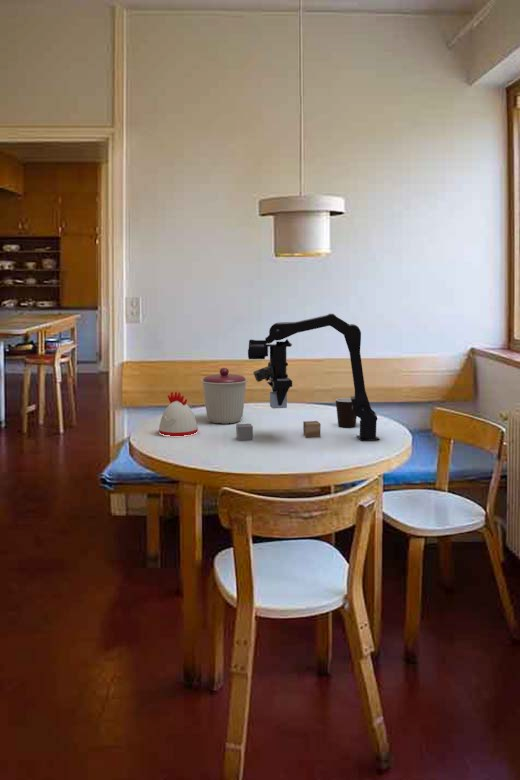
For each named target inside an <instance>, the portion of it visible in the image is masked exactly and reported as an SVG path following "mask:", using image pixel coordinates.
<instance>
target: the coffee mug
mask: <svg viewBox="0 0 520 780" xmlns="http://www.w3.org/2000/svg"><path fill="white" fill-rule="evenodd" d="M335 406H336V417H337V425H338V427H339V428H340V429H341V428H342V429H352V428H356V425H357V424H356V423H357V418H358V417H357V416H356V414H355V412H354V411H352V402H351V397H341V398H336V399H335Z"/></svg>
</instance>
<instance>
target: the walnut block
mask: <svg viewBox="0 0 520 780" xmlns="http://www.w3.org/2000/svg"><path fill="white" fill-rule="evenodd" d="M302 423H303V424H302V426H303V428H302V429H303V430H302V431H303V432H302V433H303V434H302V435H303V437H305V439H314V438H315V439H317V438H319V439H320V438H321V423H320V422H319V421H318V420H311V421H310V420H309V421H308V420H307V421H303V422H302Z"/></svg>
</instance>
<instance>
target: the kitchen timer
mask: <svg viewBox="0 0 520 780" xmlns="http://www.w3.org/2000/svg"><path fill="white" fill-rule="evenodd" d="M181 395H182V394H181V392H179V391H178V392H177V391H175V392H172V391H171V392H170V395H169V394H168V395H167V398H168V402H169V403H170V404H169V405H168V406H167V407H166V408H165V410H164V411H163V413H162V416H161V419H160V423H159V427H158V431H159V432H160V433H161V434H164V435H170V436H184V435H191V434H194V433H196V432H197V431H199V427H198V421H197V420H196V417H195V413H194V411H193V410H192V409H191V408H190V406H189V405H188V404H187V401H188V399H185V395H182V396H181ZM159 432H158V433H159Z"/></svg>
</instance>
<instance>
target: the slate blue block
mask: <svg viewBox="0 0 520 780" xmlns="http://www.w3.org/2000/svg"><path fill="white" fill-rule="evenodd" d="M269 407H270V408H271V409H274V410H275V409H287V408H288V393H287V394H286V396H285V398H284V401H283V403H282V405H278V401H277V395H276V392H273V391H269Z"/></svg>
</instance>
